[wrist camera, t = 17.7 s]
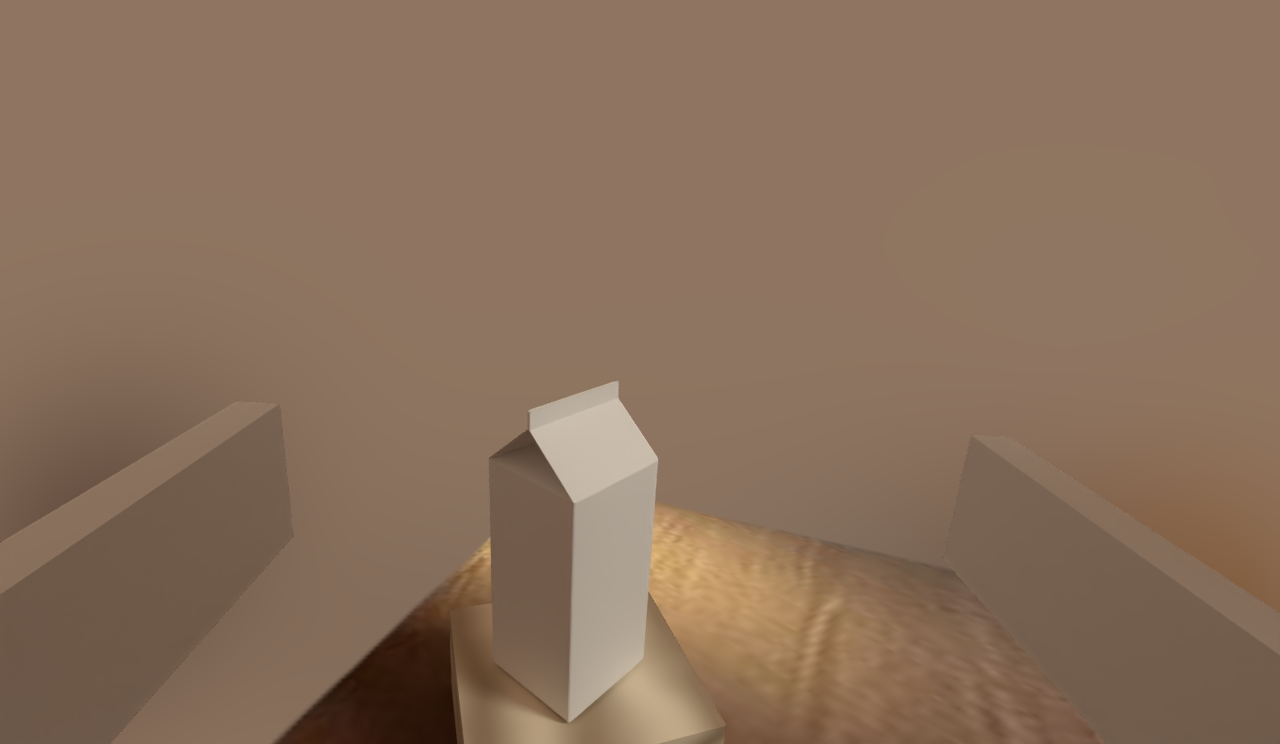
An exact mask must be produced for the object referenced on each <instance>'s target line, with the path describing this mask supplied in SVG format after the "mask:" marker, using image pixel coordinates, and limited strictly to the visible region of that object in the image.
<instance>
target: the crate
mask: <svg viewBox="0 0 1280 744" xmlns="http://www.w3.org/2000/svg"><path fill="white" fill-rule="evenodd" d="M449 612H450V652H451V686H452V696H453V706H454V716H455V726H456V736H457V744H724V739H725V731H726V724H725V723H724V721H723V719H722V718H721V716H720V714H719V712H718V711H717V709H716V707H715V705H714V704H713V702H712V700H711V699H710V697H709V695H708V693H707V692H706V690H705V688H704V686H703V685H702V683H701V681H700V680H699V678H698V676H697V674H696V673H695V671H694V669H693V668H692V666H691V664H690V662H689V661H688V659H687V657H686V655H685V654H684V652H683V650H682V649H681V647H680V645H679V643H678V642H677V640H676V638H675V636H674V635H673V633H672V631H671V630H670V628H669V626H668V624H667V623H666V621H665V619H664V617H663V616H662V614H661V612H660V611H659V609H658V607H657V605H656V604H655V602H654V600H653V598H652V597H651V595H650V593H649V592H648V602H647V616H646V630H645V643H644V656H643V659H642V660H641V661H640V662H639V663H638V664H637V665H635V666H634V667H633V668H632V669H631V670H630V671H629V672H627V673H626V674H625V675H624V676H623V677H622V678H621V679H619V680H618V681H617V682H616V683H615V684H614V685H613V686H611V687H610V688H609V689H608V690H607V691H606V692H605V693H603V694H602V695H601V696H600V697H599V698H598V699H597V700H595V701H594V702H593V703H592V704H591V705H590V706H589V707H587V708H586V709H585V710H584V711H583V712H582V713H581V714H579V715H578V716H577V717H576V718H575V719H573V720H572V721H571V722H567V721H566V720H565V719H563V718H562V717H561V716H560V715H558V714H557V713H556V712H555V711H554V710H552V709H551V708H550V707H549V706H547V705H546V704H545V703H544V702H542V701H541V700H540V699H539V698H538V697H536V696H535V695H534V694H533V693H531V692H530V691H529V690H528V689H527V688H525V687H524V686H523V685H522V684H520V683H519V682H518V681H517V680H516V679H514V678H513V677H512V676H511V675H509V674H508V673H507V672H506V671H505V670H503V669H502V668H501V667H500V666H498V665H497V664H496V663H495V662H494V661H493V626H492V603H489V604H483V605H477V606H471V607H465V608H459V609H453V610H449Z"/></svg>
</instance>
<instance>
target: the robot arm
mask: <svg viewBox="0 0 1280 744" xmlns="http://www.w3.org/2000/svg"><path fill="white" fill-rule="evenodd" d="M293 536H294V533H293V524H292V515H291V505H290V497H289V487H288V478H287V468H286V459H285V449H284V440H283V430H282V421H281V412H280V404H276V403H254V402H253V403H252V402H235V403H233V404H232V405H230V406H228V407H226V408H225V409H223V410H221V411H220V412H218V413H216V414H215V415H213V416H211V417H210V418H208V419H207V420H205V421H203V422H202V423H200V424H198V425H197V426H195V427H193V428H191V429H190V430H188V431H187V432H185V433H183V434H181V435H180V436H178V437H176V438H175V439H173V440H171V441H170V442H168V443H166V444H165V445H163V446H161V447H160V448H158V449H156V450H155V451H153V452H151V453H150V454H148V455H146V456H145V457H143V458H141V459H140V460H138V461H136V462H135V463H133V464H131V465H130V466H128V467H126V468H124V469H123V470H121V471H119V472H118V473H116V474H115V475H113V476H111V477H109V478H108V479H106V480H104V481H103V482H101V483H99V484H98V485H96V486H95V487H93V488H91V489H89V490H88V491H86V492H84V493H83V494H81V495H79V496H78V497H76V498H74V499H73V500H71V501H69V502H68V503H66V504H64V505H63V506H61V507H59V508H58V509H56V510H54V511H53V512H51V513H49V514H48V515H46V516H44V517H43V518H41V519H39V520H38V521H36V522H34V523H33V524H31V525H29V526H28V527H26V528H24V529H22V530H21V531H19V532H17V533H16V534H14V535H12V536H11V537H9V538H7V539H6V540H4V541H3V542H0V744H110V743H111V742H112V741H113V740H114V739H115V738H116V737H117V735H118V734H119V733H120V732H121V731H122V730H123V729H124V728H125V726H126V725H127V724H128V723H129V722H130V721H131V720H132V719H133V717H134V716H135V715H136V714H137V713H138V712H139V711H140V710H141V708H142V707H143V706H144V705H145V704H146V703H147V702H148V700H149V699H150V698H151V697H152V696H153V695H154V693H156V691H157V690H158V689H159V688H160V687H161V686H162V685H163V683H164V682H165V681H166V680H167V679H168V678H169V677H170V675H171V674H172V673H173V672H174V671H175V670H176V669H177V668H178V666H179V665H180V664H181V663H182V662H183V661H184V660H185V659H186V657H187V656H188V655H189V654H190V653H191V652H192V651H193V650H194V648H195V647H196V646H197V645H198V644H199V643H200V641H201V640H202V639H203V638H204V637H205V636H206V635H207V634H208V632H209V631H210V630H211V629H212V628H213V627H214V626H215V625H216V624H217V622H218V621H219V620H220V619H221V618H222V617H223V616H224V614H225V613H226V612H227V611H228V610H229V609H230V608H231V607H232V605H233V604H234V603H235V602H236V601H237V600H238V599H239V597H240V596H241V595H242V594H243V593H244V592H245V591H246V590H247V588H248V587H249V586H250V585H251V584H252V583H253V582H254V581H255V579H256V578H257V577H258V576H259V575H260V574H261V572H262V571H263V570H264V569H265V568H266V567H267V566H268V565H269V563H270V562H271V561H272V560H273V559H274V558H275V556H276V555H277V554H278V553H279V552H280V551H281V550H282V549H283V548H284V547H285V545H286V544H287V543H288V542H289V541H290V540H291V538H293ZM942 558H943V559H944V560H945V561H946V562H947V564H948V565H949V566H950V567H951V568H952V569H953V570H954V572H955V573H956V574H957V575H958V576H959V577H960V578H961V580H962V581H963V582H964V583H965V584H966V585H967V586H968V588H969V589H970V590H971V591H972V592H973V593H974V594H975V596H976V597H977V598H978V599H979V600H980V601H981V602H982V604H983V605H984V606H985V607H986V608H987V609H988V610H989V612H990V613H991V614H992V615H993V616H994V617H995V618H996V620H997V621H998V622H999V623H1000V624H1001V625H1002V626H1003V628H1004V629H1005V630H1006V631H1007V632H1008V633H1009V634H1010V636H1011V637H1012V638H1013V639H1014V640H1015V641H1016V642H1017V644H1018V645H1019V646H1020V647H1021V648H1022V649H1023V650H1024V652H1025V653H1026V654H1027V655H1028V656H1029V657H1030V658H1031V660H1032V661H1033V662H1034V663H1035V664H1036V665H1037V666H1038V668H1039V669H1040V670H1041V671H1042V672H1043V673H1044V674H1045V676H1046V677H1047V678H1048V679H1049V680H1050V681H1051V682H1052V684H1053V685H1054V686H1055V687H1056V688H1057V689H1058V690H1059V692H1060V693H1061V694H1062V695H1063V696H1064V697H1065V698H1066V700H1067V701H1068V702H1069V703H1070V704H1071V705H1072V706H1073V708H1074V709H1075V710H1076V711H1077V712H1078V713H1079V714H1080V716H1081V717H1082V718H1083V719H1084V720H1085V721H1086V722H1087V724H1088V725H1089V726H1090V727H1091V728H1092V729H1093V730H1094V732H1095V733H1096V734H1097V735H1098V736H1099V737H1100V738H1101V740H1102V741H1103V742H1104V743H1105V744H1280V613H1279V612H1277V611H1276V610H1274V609H1273V608H1271V607H1270V606H1268V605H1267V604H1265V603H1263V602H1262V601H1260V600H1259V599H1257V598H1256V597H1254V596H1253V595H1251V594H1250V593H1248V592H1247V591H1245V590H1243V589H1242V588H1240V587H1239V586H1237V585H1236V584H1234V583H1233V582H1231V581H1230V580H1228V579H1226V578H1225V577H1223V576H1222V575H1220V574H1219V573H1217V572H1216V571H1214V570H1213V569H1211V568H1210V567H1208V566H1206V565H1205V564H1203V563H1202V562H1200V561H1199V560H1197V559H1196V558H1194V557H1193V556H1191V555H1190V554H1188V553H1186V552H1185V551H1183V550H1182V549H1180V548H1179V547H1177V546H1176V545H1174V544H1173V543H1171V542H1170V541H1168V540H1166V539H1165V538H1163V537H1162V536H1160V535H1159V534H1157V533H1156V532H1154V531H1153V530H1151V529H1150V528H1148V527H1146V526H1145V525H1143V524H1142V523H1140V522H1139V521H1137V520H1136V519H1134V518H1132V517H1131V516H1130V515H1128V514H1126V513H1125V512H1123V511H1122V510H1120V509H1118V508H1117V507H1116V506H1114V505H1113V504H1111V503H1110V502H1108V501H1106V500H1105V499H1103V498H1102V497H1100V496H1098V495H1097V494H1096V493H1094V492H1092V491H1091V490H1090V489H1088V488H1086V487H1085V486H1083V485H1082V484H1080V483H1079V482H1077V481H1075V480H1074V479H1072V478H1071V477H1069V476H1068V475H1066V474H1065V473H1063V472H1062V471H1060V470H1059V469H1057V468H1056V467H1054V466H1052V465H1051V464H1049V463H1048V462H1046V461H1045V460H1043V459H1041V458H1040V457H1039V456H1037V455H1036V454H1034V453H1032V452H1031V451H1029V450H1028V449H1026V448H1025V447H1023V446H1022V445H1020V444H1019V443H1017V442H1016V441H1014V440H1013V439H1011V438H1009V437H998V436H976V435H971V438H970V442H969V446H968V451H967V455H966V459H965V463H964V467H963V472H962V476H961V480H960V484H959V489H958V493H957V497H956V501H955V506H954V510H953V514H952V518H951V522H950V526H949V530H948V535H947V540H946V543H945V547H944V551H943V556H942Z"/></svg>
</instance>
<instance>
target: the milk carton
mask: <svg viewBox="0 0 1280 744" xmlns="http://www.w3.org/2000/svg"><path fill="white" fill-rule="evenodd" d="M618 387H619V382H617V381H614V382H611V383H608V384H605V385H602V386H599V387H596V388H593V389H590V390H588V391H584V392H581V393H578V394H576V395H572V396H569V397H566V398H563V399H560V400H558V401H554V402H552V403H549V404H546V405H543V406H540V407H537V408H534V409H531V410H529V411H528V429H527V430H526V431H525V432H523V433H522V434H521V435H519V436H518V437H517V438H515V439H514V440H513V441H511V442H510V443H508V444H507V445H506V446H504V447H503V448H502V449H500V450H499V451H498V452H496V453H495V454H494V455H492V456H491V457H490V458H489V489H490V533H491V534H490V536H491V581H492V626H493V661H494V662H495V663H496V664H497V665H498V666H500V667H501V668H502V669H503V670H505V671H506V672H507V673H508V674H509V675H511V676H512V677H513V678H514V679H516V680H517V681H518V682H519V683H520V684H522V685H523V686H524V687H525V688H527V689H528V690H529V691H530V692H531V693H533V694H534V695H535V696H536V697H538V698H539V699H540V700H541V701H542V702H544V703H545V704H546V705H547V706H549V707H550V708H551V709H552V710H554V711H555V712H556V713H557V714H558V715H560V716H561V717H562V718H563V719H565V720H566V721H567V722H571V721H572V720H573V719H575V718H576V717H577V716H578V715H579V714H581V713H582V712H583V711H584V710H585V709H586V708H587V707H589V706H590V705H591V704H592V703H593V702H594V701H595V700H597V699H598V698H599V697H600V696H601V695H602V694H603V693H605V692H606V691H607V690H608V689H609V688H610V687H611V686H613V685H614V684H615V683H616V682H617V681H618V680H619V679H621V678H622V677H623V676H624V675H625V674H626V673H627V672H629V671H630V670H631V669H632V668H633V667H634V666H635V665H637V664H638V663H639V662H640V661H641V660H642V659H643V656H644V643H645V630H646V616H647V602H648V589H649V575H650V561H651V548H652V534H653V521H654V507H655V493H656V479H657V466H658V458H657V456H656V455H655V453H654V452H653V450H652V449H651V448H650V446H649V444H648V442H647V441H646V439H645V438H644V437H643V435H642V434H641V432H640V430H639V429H638V428H637V426H636V424H635V423H634V422H633V420H632V418H631V417H630V415H629V414H628V412H627V411H626V409H625V408H624V406H623V405H622V403H621V402H620V400H619V399H618Z"/></svg>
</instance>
